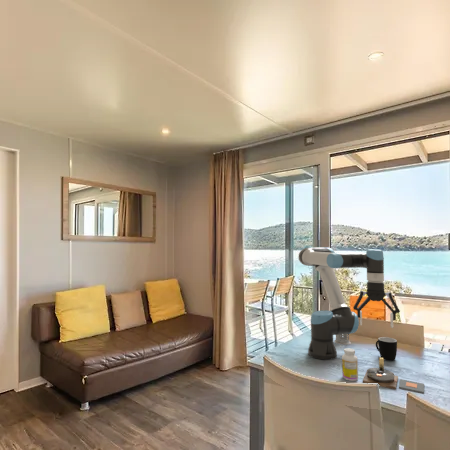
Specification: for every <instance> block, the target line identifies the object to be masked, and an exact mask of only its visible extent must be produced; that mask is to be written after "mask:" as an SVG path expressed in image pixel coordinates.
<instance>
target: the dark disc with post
mask: <svg viewBox="0 0 450 450" xmlns="http://www.w3.org/2000/svg"><path fill="white" fill-rule="evenodd" d="M384 361H385V360H384V358H382V357H381V356H380V357H378V367H371V368H368V369H367V370H366V372H367V376H368V377H369V378H370V379H372V380H375V381H378V382H393V381H394V375H395V373H394V372H393V371H391V370H388V369H386V368H385V362H384Z"/></svg>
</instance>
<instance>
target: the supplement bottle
mask: <svg viewBox="0 0 450 450" xmlns="http://www.w3.org/2000/svg"><path fill="white" fill-rule="evenodd" d="M343 352H344V354H342V356H341V363H342V365H341V367H342V370H341V371H342V378H343V379H344V380H345V381H349V382H356V381H357V380H358V379H359V368H358V367H359V362H358V360H359V359H358V357H357V355H355V354H356V349H354V348H351V347H350V348H349V347H347V348H344V349H343Z"/></svg>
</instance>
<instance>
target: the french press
mask: <svg viewBox="0 0 450 450" xmlns="http://www.w3.org/2000/svg"><path fill="white" fill-rule="evenodd" d="M333 342H334V344H339V345H342V346H343V345H344V346H345V345H346V346H347V345H351V341H350V334H339V335H335V340H333Z"/></svg>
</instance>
